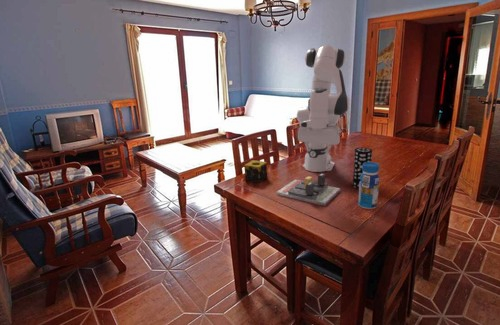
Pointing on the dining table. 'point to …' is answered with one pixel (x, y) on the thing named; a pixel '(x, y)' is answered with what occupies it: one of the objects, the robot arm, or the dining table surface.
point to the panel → (318, 197)
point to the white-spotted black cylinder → (360, 163)
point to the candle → (256, 171)
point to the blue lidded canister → (369, 185)
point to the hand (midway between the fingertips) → (317, 152)
